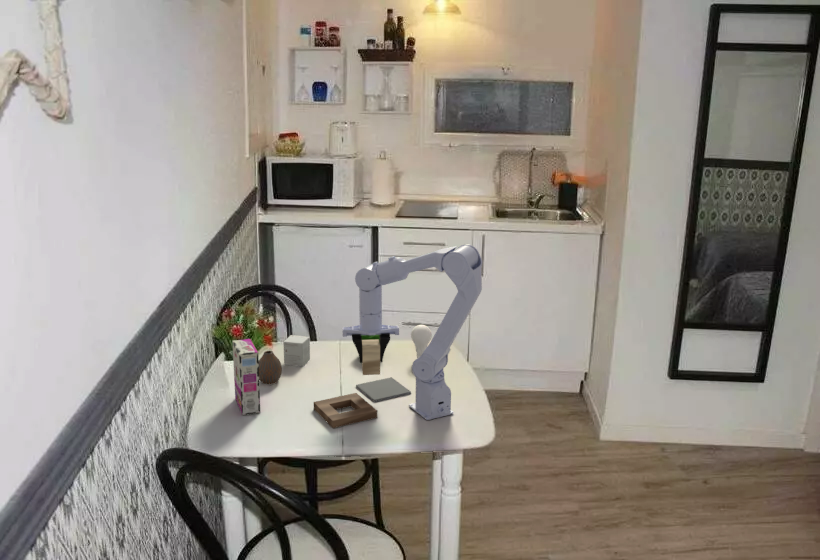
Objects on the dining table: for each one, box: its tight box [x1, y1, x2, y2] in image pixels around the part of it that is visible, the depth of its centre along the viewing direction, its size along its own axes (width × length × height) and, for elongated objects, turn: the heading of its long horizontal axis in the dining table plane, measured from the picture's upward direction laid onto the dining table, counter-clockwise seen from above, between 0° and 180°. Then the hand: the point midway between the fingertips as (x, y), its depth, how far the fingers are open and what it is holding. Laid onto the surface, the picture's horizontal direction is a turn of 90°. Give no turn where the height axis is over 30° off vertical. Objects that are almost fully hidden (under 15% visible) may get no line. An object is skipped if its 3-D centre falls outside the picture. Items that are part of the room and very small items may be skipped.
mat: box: [355, 377, 412, 403], centre depth 203 cm, size 11×11×1 cm
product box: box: [283, 334, 311, 367], centre depth 221 cm, size 6×6×7 cm
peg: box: [361, 339, 381, 376], centre depth 196 cm, size 4×4×8 cm
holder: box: [313, 392, 378, 429], centre depth 189 cm, size 12×12×2 cm
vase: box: [259, 350, 283, 385], centre depth 207 cm, size 7×7×9 cm
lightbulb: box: [410, 324, 433, 359], centre depth 223 cm, size 6×6×11 cm
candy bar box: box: [231, 338, 261, 416], centre depth 191 cm, size 11×5×16 cm, turn 22°
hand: (370, 361), depth 196 cm, fingers closed on peg, 4 cm apart
